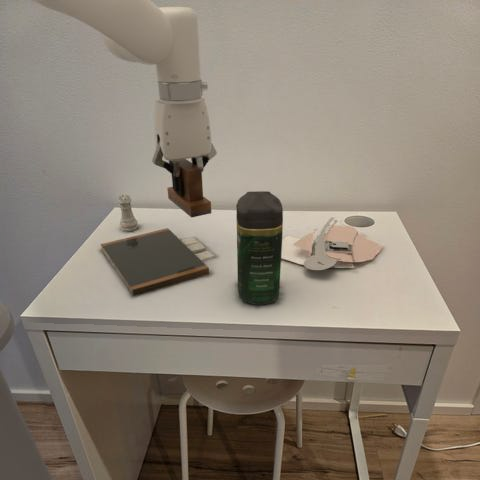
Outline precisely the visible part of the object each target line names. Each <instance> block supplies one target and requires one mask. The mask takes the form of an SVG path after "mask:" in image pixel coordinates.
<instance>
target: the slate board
mask: <svg viewBox="0 0 480 480" xmlns="http://www.w3.org/2000/svg"><path fill="white" fill-rule="evenodd" d="M181 240H182V239H181V238H179V237H178V236H177V235H176V234H175V233H173V231H171V229H169V228H168V227H166V228H162V229H158V230H154V231H149V232H146V233H142V234H137V235H133V236H129V237H125V238H121V239H120V238H119V239H117V240H112V241H109V242H104V243H101V244H100V248H101V250H102V252H103V253H104V255H105V256H106V258H107V260H108V261H109V262H110V264H111V265H112V267H113V268H114V270H115V272H116V273H117V274H118V276H119V277H120V279H121V280H122V282H123V283H124V285H125V286H126V288H127V289H128V291H129V292H130V294H131V295H132V297H137V296H140V295H143V294H147V293H150V292H154V291H157V290H159V289H164V288H167V287H169V286H174V285H176V284H177V285H178V284H180V283H184V282H187V281H190V280H194V279H197V278H201V277H204V276H207V275H210V267H209V265H207V264H206V263H205V262H204V261H201V260H200V259H199V258H198V257H197V256H196V255H195V254H196V253H193V252H192V251H191V250H190V249H189V248H188V247H187V246H186V245H185V244H184V243H183V242H182V241H181Z"/></svg>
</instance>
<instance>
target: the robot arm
mask: <svg viewBox="0 0 480 480" xmlns="http://www.w3.org/2000/svg"><path fill="white" fill-rule="evenodd" d="M32 1H34V2H36V3H37V4H39V5H41V6H42V7H45V8H47V9H50V10H53V11H56V12H59V13H62V14H65V15H67V16H68V17H71V18H74V19H76V20H78V21H80V22H82V23H84V24H85V25H87V26H89V27H91V28H92V29H94V30H96V31H97V32H99V33H100V34H101V39H102V41H103V44H104V46H105V47H106V49H107V50H108V51H109V52H110V53H111V54H112V55H113V56H115V57H116V58H118V59H120V60H122V61H125V62H131V63H138V64H141V65H147V66H154V65H155V67H156V69H155V70H156V76H157V87H158V96H159V99H158V100H155V101H154V102H155V103H154V115H153V117H154V118H153V119H154V121H153V122H154V123H153V127H154V146H155V151H154V154H153V156H152V160H151V162H152V164H154V165H155V166H157V167H160V168H163V169H165V170H166V171H167V172H169V173H170V174H171V183H172V187H173V190H174V191H175V192H176V193H177V194H178V195H179V196H183V195H184V187H183V177H182V176H181V175H180V160H181V159H186V160H188V159H190V160H191V163H193V164H194V165H196V166H198V167H199V168H201V169H202V173H203V172H204V171H205V167H206V166H207V164H208V163H209V161H211V160H212V159H213V158H214V157H216V155H218V154H217V153H218V152H217V150H216V148H215V146H214V145H213V142H212V132H211V125H210V117H209V112H208V108H207V103H206V100H205V98H203V97H202V96H203V92H204V91H207V90H208V83H207V82H206V81H205V82H204V81H202V79H201V64H200V63H201V62H200V45H199V43H200V42H199V25H198V24H199V23H198V17H197V13H196V11H195V10H194V9H193V8H191V7H187V6H160V7H159V6H158V5H156V4H155V3H154V2H153V1H152V0H32Z"/></svg>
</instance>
